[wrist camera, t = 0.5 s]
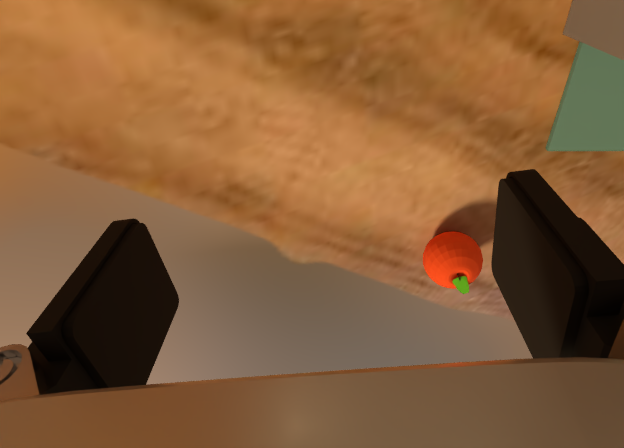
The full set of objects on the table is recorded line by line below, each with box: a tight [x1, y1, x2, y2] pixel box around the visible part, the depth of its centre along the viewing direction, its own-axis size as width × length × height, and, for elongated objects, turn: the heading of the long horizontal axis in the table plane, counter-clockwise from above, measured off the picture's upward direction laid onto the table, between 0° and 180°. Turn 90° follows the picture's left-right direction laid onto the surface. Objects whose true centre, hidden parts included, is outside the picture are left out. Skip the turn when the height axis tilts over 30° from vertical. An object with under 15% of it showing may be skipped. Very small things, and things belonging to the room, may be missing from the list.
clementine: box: [423, 231, 483, 294], centre depth 51 cm, size 8×7×7 cm
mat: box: [546, 42, 624, 151], centre depth 43 cm, size 11×11×1 cm
